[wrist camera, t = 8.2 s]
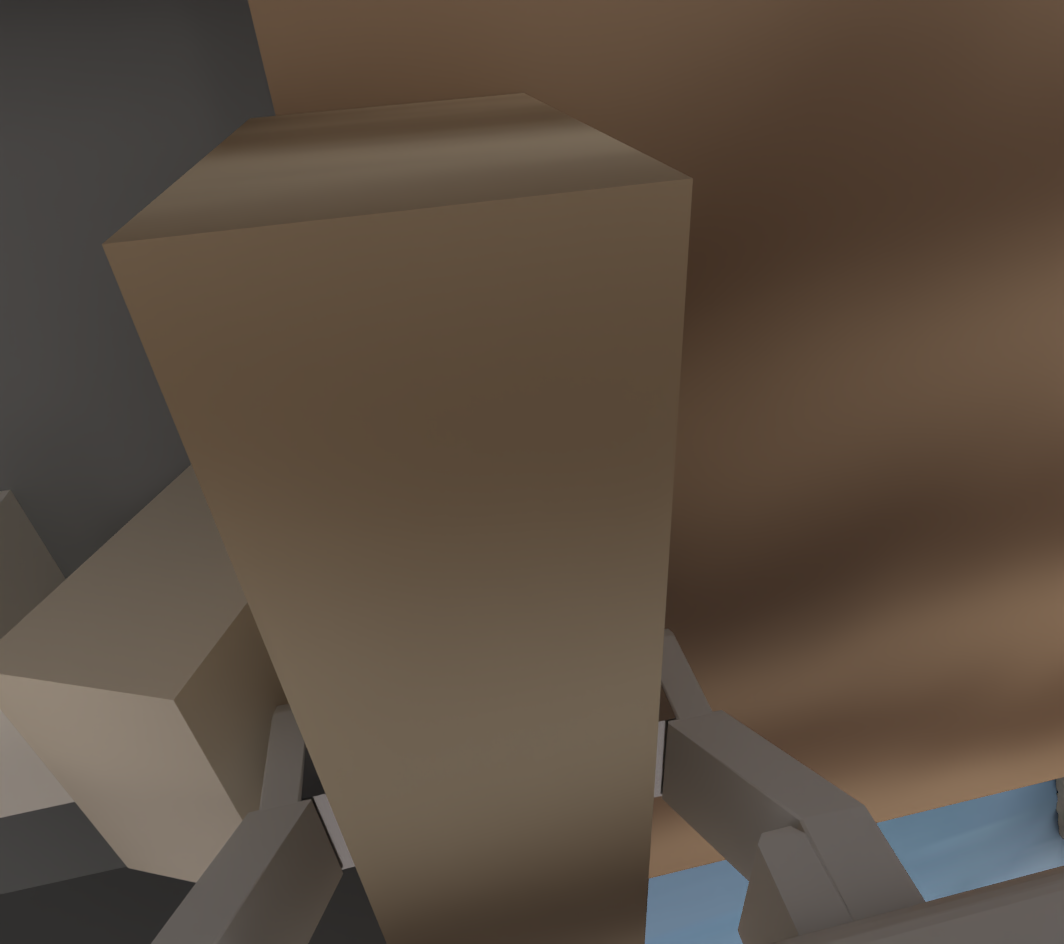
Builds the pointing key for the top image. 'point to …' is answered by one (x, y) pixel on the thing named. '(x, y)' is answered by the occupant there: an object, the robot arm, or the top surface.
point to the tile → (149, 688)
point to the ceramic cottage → (1060, 805)
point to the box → (101, 362)
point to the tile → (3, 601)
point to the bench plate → (819, 347)
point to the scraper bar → (442, 482)
